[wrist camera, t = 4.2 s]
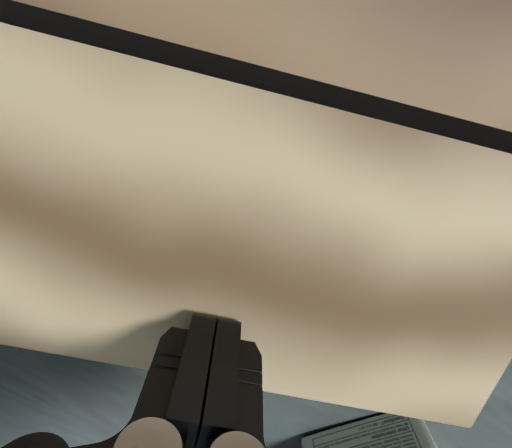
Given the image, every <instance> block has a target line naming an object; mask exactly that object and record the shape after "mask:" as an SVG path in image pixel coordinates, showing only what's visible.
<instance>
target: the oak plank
mask: <svg viewBox="0 0 512 448" xmlns="http://www.w3.org/2000/svg"><path fill="white" fill-rule="evenodd" d="M193 313H198V314H203V315H208V316H213V317H216V323H217V319H218V317H219V318H224V319H229V320H234V321H239V322H241V340H246V341H251V342H255V343H256V345H257V347H258V349H259V351H260V353H261V355H262V389H263V391H265V392H271V393H276V394H282V395H288V396H293V397H299V398H305V399H310V400H316V401H321V402H327V403H333V404H338V405H344V406H349V407H355V408H361V409H366V410H372V411H377V412H383V413H389V414H394V415H400V416H405V417H411V418H417V419H422V420H428V421H433V422H439V423H445V424H450V425H456V426H461V427H467V428H471V427H472V425H473V423H474V422H475V420H476V418H477V417H478V415H479V413H480V411H481V410H482V408H483V406H484V405H485V403H486V401H487V400H488V398H489V396H490V394H491V393H492V391H493V389H494V388H495V386H496V384H497V383H498V381H499V379H500V378H501V376H502V374H503V372H504V371H505V369H506V367H507V366H508V364H509V362H510V361H511V359H512V154H510V153H506V152H503V151H499V150H495V149H491V148H487V147H483V146H479V145H475V144H471V143H468V142H464V141H460V140H456V139H452V138H448V137H444V136H440V135H437V134H433V133H429V132H425V131H421V130H417V129H413V128H409V127H405V126H402V125H398V124H394V123H390V122H386V121H382V120H378V119H374V118H370V117H367V116H363V115H359V114H355V113H351V112H347V111H343V110H339V109H336V108H332V107H328V106H324V105H320V104H316V103H312V102H308V101H304V100H301V99H297V98H293V97H289V96H285V95H281V94H277V93H273V92H270V91H266V90H262V89H258V88H254V87H250V86H246V85H242V84H238V83H235V82H231V81H227V80H223V79H219V78H215V77H211V76H207V75H203V74H200V73H196V72H192V71H188V70H184V69H180V68H176V67H172V66H169V65H165V64H161V63H157V62H153V61H149V60H145V59H141V58H137V57H134V56H130V55H126V54H122V53H118V52H114V51H110V50H106V49H102V48H99V47H95V46H91V45H87V44H83V43H79V42H75V41H71V40H68V39H64V38H60V37H56V36H52V35H48V34H44V33H40V32H36V31H33V30H29V29H25V28H21V27H17V26H13V25H9V24H5V23H2V22H0V344H2V345H7V346H13V347H19V348H24V349H30V350H35V351H41V352H47V353H52V354H58V355H63V356H69V357H75V358H80V359H86V360H92V361H97V362H103V363H108V364H114V365H120V366H125V367H131V368H136V369H142V370H148V371H149V368H150V366H151V362H152V360H153V357H154V355H155V351H156V348H157V345H158V343H159V340H160V337H161V336H162V335H163V334H164V333H165V332H166V331H168V330H169V329H170V328H171V327H177V328H182V329H188V330H189V327H190V323H191V319H192V315H193ZM216 323H215V327H216ZM214 331H215V329H214ZM213 336H214V335H213Z"/></svg>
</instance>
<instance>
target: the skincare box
mask: <svg viewBox="0 0 512 448" xmlns="http://www.w3.org/2000/svg"><path fill="white" fill-rule="evenodd" d="M301 444H302V448H437V446H436V444H435V442H434V440H433V438H432V436H431V434H430V432H429V430H428V428H427V426H426V424H425V422H424V420H422V419H417V418H411V417H405V416H400V415H394V414H389V413H385V414H381V415H378V416H374V417H371V418H367V419H364V420H360V421H357V422H353V423H350V424H346V425H343V426H339V427H335V428H332V429H329V430H325V431H322V432H319V433H316V434H313V435H309V436H306V437H303V438H302V439H301Z"/></svg>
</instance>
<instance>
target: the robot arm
mask: <svg viewBox="0 0 512 448" xmlns="http://www.w3.org/2000/svg"><path fill="white" fill-rule="evenodd" d="M215 323H216V317H213V316H208V315H203V314H198V313H193V315H192V319H191V323H190V327H189V330H188V329H182V328H177V327H171V328H170V329H169V330H168V331H166V332H165V333H164V334H163V335H162V336H161V337H160V340H159V343H158V345H157V348H156V351H155V355H154V357H153V360H152V362H151V366H150V368H149V371H148V374H147V376H146V379H145V382H144V385H143V388H142V391H141V393H140V396H139V399H138V402H137V405H136V407H135V410H134V413H133V415H132V418H131V419H130V421H129V423H128V424H127V425H126V426H125V427H124V429H122V430H121V431H120V432H119V433H118V434H116V435H115V436H113V437H111V438H109V439H107V440H105V441H102V442H99V443H94V444H89V445H83V446H77V447H70V448H266V447H265V443H264V437H263V389H262V355H261V353H260V351H259V349H258V347H257V345H256V343H255V342H251V341H246V340H241V322H239V321H234V320H229V319H224V318H219V317H218V319H217V323H216V327H215ZM214 329H215V331H214ZM213 335H214V336H213ZM1 448H69V446H68V445H67V443H66V442H65V441H64V439H62V438H61V437H59V436H58V435H55V434H52V433H48V432H38V433H32V434H27V435H25V436H22V437H19V438H17V439H16V440H14V441H12V442H10V443H8V444H7V445H5V446H3V447H1Z"/></svg>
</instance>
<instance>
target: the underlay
mask: <svg viewBox="0 0 512 448" xmlns="http://www.w3.org/2000/svg"><path fill="white" fill-rule="evenodd" d="M0 22H2V23H5V24H9V25H13V26H17V27H21V28H25V29H29V30H33V31H36V32H40V33H44V34H48V35H52V36H56V37H60V38H64V39H68V40H71V41H75V42H79V43H83V44H87V45H91V46H95V47H99V48H102V49H106V50H110V51H114V52H118V53H122V54H126V55H130V56H134V57H137V58H141V59H145V60H149V61H153V62H157V63H161V64H165V65H169V66H172V67H176V68H180V69H184V70H188V71H192V72H196V73H200V74H203V75H207V76H211V77H215V78H219V79H223V80H227V81H231V82H235V83H238V84H242V85H246V86H250V87H254V88H258V89H262V90H266V91H270V92H273V93H277V94H281V95H285V96H289V97H293V98H297V99H301V100H304V101H308V102H312V103H316V104H320V105H324V106H328V107H332V108H336V109H339V110H343V111H347V112H351V113H355V114H359V115H363V116H367V117H370V118H374V119H378V120H382V121H386V122H390V123H394V124H398V125H402V126H405V127H409V128H413V129H417V130H421V131H425V132H429V133H433V134H437V135H440V136H444V137H448V138H452V139H456V140H460V141H464V142H468V143H471V144H475V145H479V146H483V147H487V148H491V149H495V150H499V151H503V152H506V153H510V154H512V132H510V131H506V130H502V129H498V128H495V127H491V126H487V125H483V124H479V123H476V122H472V121H468V120H464V119H460V118H457V117H453V116H449V115H445V114H441V113H438V112H434V111H430V110H426V109H422V108H419V107H415V106H411V105H407V104H403V103H400V102H396V101H392V100H388V99H384V98H381V97H377V96H373V95H369V94H366V93H362V92H358V91H354V90H350V89H347V88H343V87H339V86H335V85H331V84H328V83H324V82H320V81H316V80H312V79H309V78H305V77H301V76H297V75H293V74H290V73H286V72H282V71H278V70H274V69H271V68H267V67H263V66H259V65H256V64H252V63H248V62H244V61H240V60H237V59H233V58H229V57H225V56H221V55H218V54H214V53H210V52H206V51H202V50H199V49H195V48H191V47H187V46H183V45H180V44H176V43H172V42H168V41H164V40H161V39H157V38H153V37H149V36H145V35H142V34H138V33H134V32H130V31H127V30H123V29H119V28H115V27H111V26H108V25H104V24H100V23H96V22H92V21H89V20H85V19H81V18H77V17H73V16H70V15H66V14H62V13H58V12H54V11H51V10H47V9H43V8H39V7H35V6H32V5H28V4H24V3H20V2H17V1H13V0H0Z"/></svg>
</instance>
